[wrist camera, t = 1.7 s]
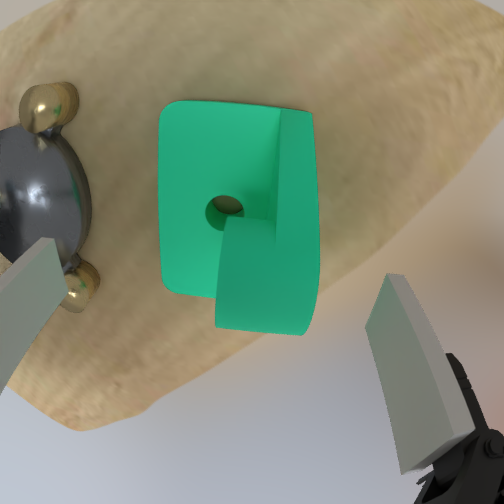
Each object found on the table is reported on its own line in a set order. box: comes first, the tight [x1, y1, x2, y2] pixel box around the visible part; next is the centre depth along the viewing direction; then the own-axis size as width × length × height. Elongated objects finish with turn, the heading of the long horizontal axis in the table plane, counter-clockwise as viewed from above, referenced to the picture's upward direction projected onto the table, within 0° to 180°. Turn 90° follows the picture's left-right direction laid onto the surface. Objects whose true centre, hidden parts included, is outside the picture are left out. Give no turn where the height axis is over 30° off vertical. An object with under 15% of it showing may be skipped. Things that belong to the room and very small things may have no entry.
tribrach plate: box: [0, 82, 100, 313], centre depth 17 cm, size 16×17×3 cm
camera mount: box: [158, 100, 320, 335], centre depth 14 cm, size 12×8×10 cm, turn 174°
